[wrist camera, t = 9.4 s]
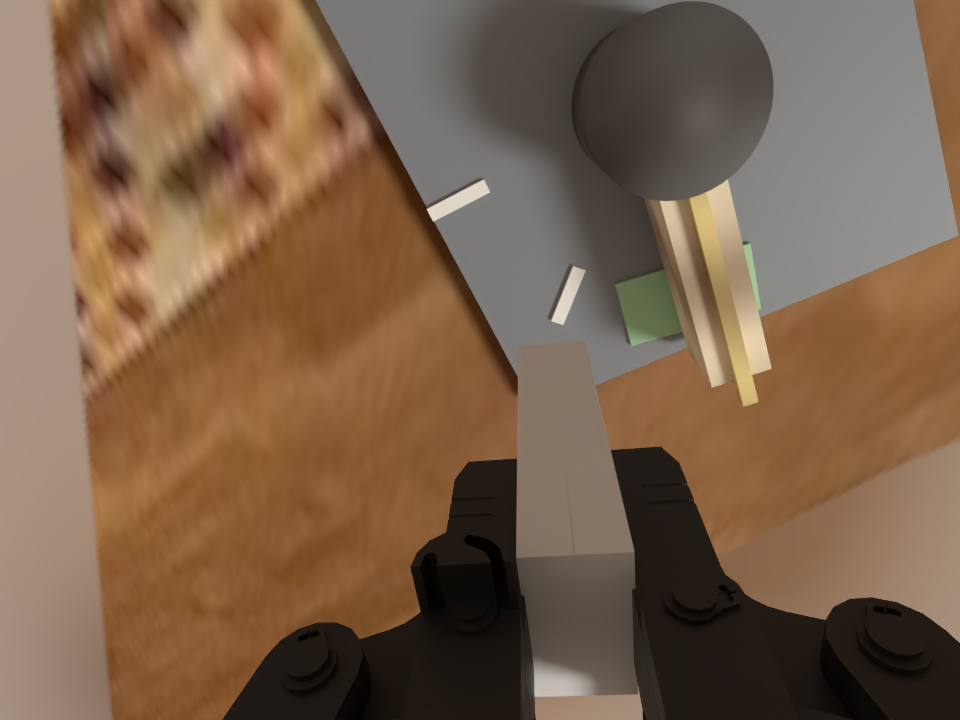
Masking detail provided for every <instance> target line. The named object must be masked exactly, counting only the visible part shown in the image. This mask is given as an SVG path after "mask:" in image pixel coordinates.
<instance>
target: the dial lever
mask: <svg viewBox="0 0 960 720" xmlns="http://www.w3.org/2000/svg"><path fill="white" fill-rule="evenodd" d="M773 88H774V81H773V73H772V67H771V63H770V59H769V56H768V53H767V51H766V49H765V46H764V44H763V43H762V41H761V39H760V38H759V36H758V34H757V33H756V32H755V31H754V29H753V28H752V27H751V26H750V25H749V24H748V23H747V22H746V21H745V20H744V19H742V18H741V17H740V16H739V15H737V14H735V13H734V12H732V11H731V10H729V9H726V8H724V7H722V6H719V5H716V4H712V3H708V2H699V1H685V2H677V3H672V4H668V5H664V6H662V7H659V8H656V9H654V10H652V11H650V12H648V13H646V14H644V15H642V16H640V17H638V18H636V19H634V20H632V21H630V22H628V23H626V24H624V25H622V26H620V27H618V28H616V29H615V30H613V31H612V32H611V33H609V34H608V35H606V36H605V37H604V38H603V39H602V40H601V41H600V42H599V43H598V44H597V45H596V46H595V47H594V48H593V49H592V51H591V52H590V53H589V55H588V56H587V58H586V59H585V61H584V63H583V65H582V67H581V69H580V70H579V73H578V76H577V78H576V81H575V85H574V89H573V95H572V121H573V126H574V130H575V133H576V136H577V138H578V141H579V143H580V145H581V147H582V148H583V150H584V151H585V153H586V154H587V155H588V157H589V158H590V159H591V160H592V161H593V162H594V163H595V164H596V165H597V166H598V167H599V168H600V169H601V170H602V171H603V172H604V173H605V174H607V175H608V176H609V177H610V178H611V179H612V180H613V181H614V182H615V183H616V184H618V185H619V186H620V187H622V188H623V189H625V190H627V191H628V192H630V193H632V194H634V195H637V196H640V197H642V198H644V200H645V204H646V207H647V211H648V214H649V217H650V221H651V224H652V228H653V231H654V235H655V238H656V242H657V245H658V249H659V252H660V255H661V259H662V262H663V266H664V269H665V273H666V276H667V280H668V283H669V287H670V290H671V293H672V297H673V300H674V304H675V307H676V311H677V314H678V318H679V321H680V325H681V328H682V332H683V335H684V338H685V342H686V345H687V349H688V352H689V353H690V355H691V357H692V358H693V360H694V361H695V363H696V364H697V366H698V367H699V369H700V370H701V372H702V373H703V375H704V376H705V378H706V379H707V381H708V382H709V384H710V385H711V387H715V386H718V385H721V384H725V383H728V382H731V381H734V382H735V386H736V390H737V394H738V398H739V401H740V402H741V404H742V405H743V407H744V406H747V405H750V404H754V403H757V402H758V398H757V394H756V390H755V386H754V382H753V378H752V375H753V374H756V373H760V372H763V371H766V370H769V369H771V364H770V360H769V356H768V351H767V347H766V343H765V338H764V334H763V330H762V325H761V321H760V317H759V312H758V308H757V304H756V299H755V295H754V291H753V286H752V282H751V278H750V273H749V269H748V265H747V260H746V256H745V252H744V247H743V243H742V239H741V235H740V230H739V226H738V222H737V217H736V213H735V209H734V204H733V200H732V196H731V191H730V187H729V183H728V179H729V178H730V177H731V176H732V175H733V174H735V173H736V172H737V171H738V170H739V169H740V168H741V167H742V166H743V164H744V163H745V162H746V161H747V160H748V159H749V157H750V156H751V154H752V153H753V151H754V150H755V148H756V147H757V145H758V144H759V142H760V140H761V138H762V136H763V134H764V131H765V129H766V126H767V123H768V121H769V117H770V113H771V109H772V102H773Z"/></svg>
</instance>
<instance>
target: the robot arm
mask: <svg viewBox="0 0 960 720" xmlns="http://www.w3.org/2000/svg"><path fill="white" fill-rule="evenodd" d="M410 568H411V572H412V576H413V580H414V584H415V589H416V593H417V597H418V601H419V606H420V610H421V612H420V613H419V614H418V615H416V616H415V617H413V618H412V619H410V620H409V621H408V622H406V623H404V624H402V625H400V626H397V627H395V628H393V629H390V630H387V631H384V632H381V633H378V634H375V635H372V636H369V637H366V638H363V639H359V638H358V637H357V635H356V634H355V633H354V632H353V630H352V629H351V628H348V627H346V626H344V625H341V624H339V623H315V624H312V625H309V626H306V627H303V628H300V629H298V630H296V631H295V632H293V633H292V634H290V635H288V636H287V637H285V638H284V639H282V640H281V641H280V642H279V643H278V644H277V645H276V646H275V647H274V648H273V649H272V650H271V651H270V653H269V654H268V655H267V656H266V657H265V658H264V660H263V661H262V663H261V664H260V666H259V667H258V669H257V670H256V672H255V673H254V674H253V676H252V677H251V679H250V680H249V682H248V683H247V685H246V686H245V687H244V689H243V690H242V692H241V693H240V695H239V696H238V698H237V699H236V701H235V702H234V703H233V705H232V706H231V708H230V709H229V711H228V712H227V714H226V715H225V716H224V718H223V719H222V720H536V718H535V697H548V696H585V695H586V696H587V695H625V694H626V695H627V694H638V687H639V692H640V698H641V703H642V708H643V720H960V643H959V642H958V641H957V640H956V639H955V638H953V637H952V636H951V635H950V634H949V633H948V632H947V631H946V630H944V629H943V628H942V627H940V626H939V625H937V624H936V623H935V622H934V621H932V620H931V619H929V618H928V617H927V616H925V615H924V614H922V613H920V612H918V611H915V610H913V609H911V608H909V607H906V606H904V605H902V604H899V603H897V602H892V601H887V600H882V599H876V598H857V599H849V600H847V601H845V602H843V603H841V604H839V605H837V606H835V607H833V609H832V610H831V612H830V614H829V615H828V617H827V619H826V620H822V619H818V618H813V617H808V616H803V615H799V614H794V613H790V612H785V611H782V610H778V609H775V608H772V607H768V606H766V605H764V604H762V603H760V602H758V601H756V600H753V599H751V598H750V597H748V596H747V595H746V594H745V593H744V592H743V591H742V589H741V588H740V586H739V585H738V584H737V583H736V582H735V581H733V580H732V579H731V578H729V577H728V576H726V575H725V573H724V571H723V570H722V568H721V566H720V563H719V561H718V558H717V556H716V553H715V551H714V548H713V546H712V543H711V541H710V538H709V536H708V533H707V531H706V528H705V526H704V524H703V521H702V519H701V516H700V514H699V511H698V509H697V506H696V504H694V499H693V496H692V494H691V491H690V489H689V487H688V486H687V481H686V479H685V476H684V474H683V471H682V469H681V466H680V464H679V462H678V461H676V460H675V459H674V458H673V457H672V456H671V455H670V454H668V453H667V452H666V451H665V450H664V449H663V448H661V447H649V448H635V449H620V450H610V445H609V441H608V437H607V433H606V428H605V424H604V420H603V416H602V411H601V407H600V403H599V399H598V394H597V390H596V386H595V381H594V377H593V373H592V369H591V364H590V360H589V356H588V352H587V347H586V343H585V340H582V341H571V342H560V343H549V344H538V345H527V346H518V425H517V459H504V460H490V461H476V462H468V463H467V465H466V466H465V467H464V468H463V470H462V471H461V472H460V474H459V475H458V476H457V478H456V479H455V482H454V488H453V494H452V503H451V507H450V513H449V520H448V525H447V531H446V533H444V534H442V535H440V536H438V537H436V538H434V539H432V540H430V541H429V542H428V543H427V544H426V545H425V546H424V547H423V548H422V549H421V550H419V551H418V552H417V554H416V556H415V558H414V561H413V563H412V565H411V567H410ZM637 682H638V684H637ZM534 695H535V696H534Z"/></svg>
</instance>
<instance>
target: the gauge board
mask: <svg viewBox="0 0 960 720" xmlns="http://www.w3.org/2000/svg"><path fill="white" fill-rule="evenodd" d="M315 1H316V2H317V4H318V6H319V8H320V10H321V12H322V14H323V16H324V17H325V19H326V21H327V23H328V25H329V27H330V29H331V30H332V32H333V34H334V36H335V38H336V40H337V42H338V43H339V45H340V47H341V49H342V51H343V53H344V55H345V56H346V58H347V60H348V62H349V64H350V66H351V68H352V69H353V71H354V73H355V75H356V77H357V79H358V81H359V83H360V84H361V86H362V88H363V90H364V92H365V94H366V96H367V97H368V99H369V101H370V103H371V105H372V107H373V109H374V110H375V112H376V114H377V116H378V118H379V120H380V122H381V123H382V125H383V127H384V129H385V131H386V133H387V135H388V136H389V138H390V140H391V142H392V144H393V146H394V148H395V150H396V151H397V153H398V155H399V157H400V159H401V161H402V163H403V164H404V166H405V168H406V170H407V172H408V174H409V176H410V177H411V179H412V181H413V183H414V185H415V187H416V189H417V190H418V192H419V194H420V196H421V198H422V200H423V202H424V204H425V205H426V207H427V211H428V213H429V215H430V217H431V218H432V220H433V222H435V224H436V226H437V228H438V230H439V231H440V233H441V235H442V237H443V239H444V241H445V243H446V244H447V246H448V248H449V250H450V252H451V254H452V256H453V257H454V259H455V261H456V263H457V265H458V267H459V269H460V271H461V272H462V274H463V276H464V278H465V280H466V282H467V284H468V285H469V287H470V289H471V291H472V293H473V295H474V297H475V298H476V300H477V302H478V304H479V306H480V308H481V310H482V311H483V313H484V315H485V317H486V319H487V321H488V323H489V324H490V326H491V328H492V330H493V332H494V334H495V336H496V338H497V339H498V341H499V343H500V345H501V347H502V349H503V351H504V352H505V354H506V356H507V358H508V360H509V362H510V364H511V365H512V367H513V369H514V371H515V373H516V375H517V377H518V346H527V345H538V344H549V343H560V342H571V341H582V340H585V343H586V347H587V352H588V356H589V360H590V364H591V369H592V373H593V377H594V381H595V385H598V384H600V383H603V382H605V381H608V380H610V379H612V378H615V377H617V376H620V375H622V374H624V373H627V372H629V371H632V370H634V369H637V368H639V367H641V366H644V365H646V364H649V363H651V362H653V361H656V360H658V359H661V358H663V357H666V356H668V355H670V354H673V353H675V352H678V351H680V350H682V349H685V348H687V345H686V342H685V338H684V335H683V332H682V328H681V325H680V321H679V318H678V314H677V311H676V307H675V304H674V300H673V297H672V293H671V290H670V287H669V283H668V280H667V276H666V273H665V269H664V266H663V262H662V259H661V255H660V252H659V249H658V245H657V242H656V238H655V235H654V231H653V228H652V224H651V221H650V217H649V214H648V211H647V207H646V204H645V200H644V198H642V197H640V196H637V195H634V194H632V193H630V192H628V191H627V190H625V189H623V188H622V187H620V186H619V185H618V184H616V183H615V182H614V181H613V180H612V179H611V178H610V177H609V176H608V175H607V174H605V173H604V172H603V171H602V170H601V169H600V168H599V167H598V166H597V165H596V164H595V163H594V162H593V161H592V160H591V159H590V158H589V157H588V155H587V154H586V153H585V151H584V150H583V148H582V147H581V145H580V143H579V141H578V138H577V136H576V133H575V130H574V126H573V121H572V95H573V89H574V85H575V81H576V78H577V76H578V73H579V70H580V69H581V67H582V65H583V63H584V61H585V59H586V58H587V56H588V55H589V53H590V52H591V51H592V49H593V48H594V47H595V46H596V45H597V44H598V43H599V42H600V41H601V40H602V39H603V38H604V37H605V36H606V35H608V34H609V33H611V32H612V31H613V30H615V29H616V28H618V27H620V26H622V25H624V24H626V23H628V22H630V21H632V20H634V19H636V18H638V17H640V16H642V15H644V14H646V13H648V12H650V11H652V10H654V9H656V8H659V7H662V6H664V5H668V4H672V3H677V2H685V1H699V2H708V3H712V4H716V5H719V6H722V7H724V8H726V9H729V10H731V11H732V12H734V13H735V14H737V15H739V16H740V17H741V18H742V19H744V20H745V21H746V22H747V23H748V24H749V25H750V26H751V27H752V28H753V29H754V31H755V32H756V33H757V34H758V36H759V38H760V39H761V41H762V43H763V44H764V46H765V49H766V51H767V53H768V56H769V59H770V63H771V67H772V73H773V81H774V88H773V102H772V109H771V113H770V117H769V121H768V123H767V126H766V129H765V131H764V134H763V136H762V138H761V140H760V142H759V144H758V145H757V147H756V148H755V150H754V151H753V153H752V154H751V156H750V157H749V159H748V160H747V161H746V162H745V163H744V164H743V166H742V167H741V168H740V169H739V170H738V171H737V172H736V173H735V174H733V175H732V176H731V177H730V178H729V179H728V183H729V187H730V191H731V196H732V200H733V204H734V209H735V213H736V217H737V222H738V226H739V230H740V235H741V239H742V243H743V247H744V252H745V256H746V260H747V265H748V269H749V273H750V278H751V282H752V286H753V291H754V295H755V299H756V304H757V308H758V312H759V317H762V316H765V315H767V314H769V313H772V312H774V311H777V310H779V309H781V308H784V307H786V306H789V305H791V304H794V303H796V302H798V301H801V300H803V299H806V298H808V297H810V296H813V295H815V294H818V293H820V292H823V291H825V290H827V289H830V288H832V287H835V286H837V285H839V284H842V283H844V282H847V281H849V280H852V279H854V278H856V277H859V276H861V275H864V274H866V273H868V272H871V271H873V270H876V269H878V268H881V267H883V266H885V265H888V264H890V263H893V262H895V261H897V260H900V259H902V258H905V257H907V256H910V255H912V254H914V253H917V252H919V251H922V250H924V249H926V248H929V247H931V246H934V245H936V244H938V243H941V242H943V241H946V240H948V239H951V238H953V237H955V236H958V231H957V226H956V221H955V216H954V210H953V205H952V200H951V195H950V190H949V184H948V179H947V174H946V169H945V163H944V158H943V153H942V148H941V143H940V137H939V132H938V127H937V122H936V117H935V111H934V106H933V101H932V96H931V91H930V85H929V80H928V75H927V70H926V64H925V59H924V54H923V49H922V44H921V38H920V33H919V28H918V23H917V18H916V12H915V7H914V2H913V0H315Z"/></svg>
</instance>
